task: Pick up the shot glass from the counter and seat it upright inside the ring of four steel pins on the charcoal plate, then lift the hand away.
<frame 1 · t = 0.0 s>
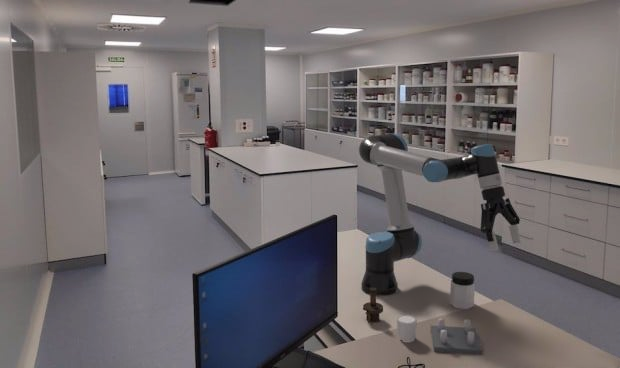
hand: (506, 246, 176), 28 cm above the worktop, tool tilted 20°, fingers open, 13 cm apart
pin plate: (455, 341, 167), on the worktop
shot glass: (406, 338, 170), on the worktop
jar: (461, 305, 195), on the worktop
industrial component: (374, 319, 184), on the worktop
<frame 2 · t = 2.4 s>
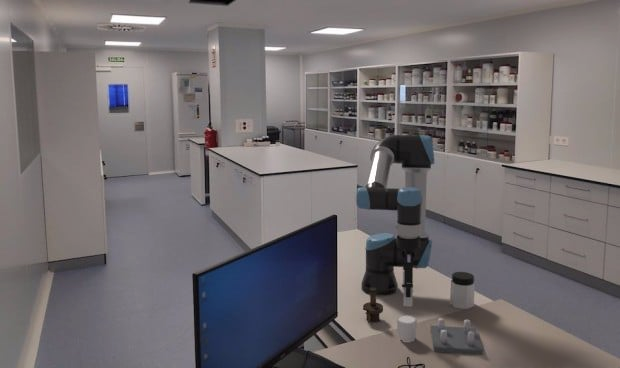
hand: (407, 297, 167), 15 cm above the worktop, tool pointing down, fingers open, 13 cm apart
nothing on the worktop moved.
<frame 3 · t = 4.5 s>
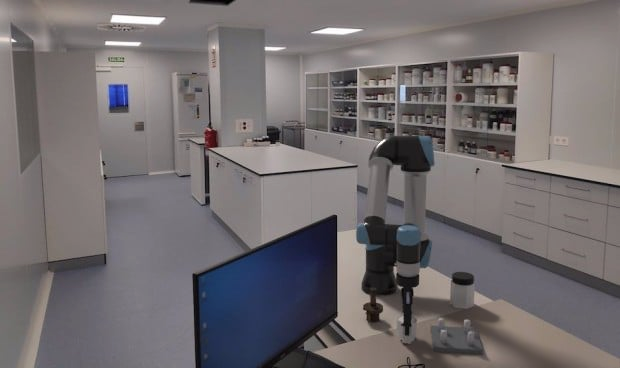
hand: (406, 337, 169), 0 cm above the worktop, tool pointing down, fingers open, 7 cm apart
shot glass: (406, 338, 170), on the worktop, touching gripper
everything else where it was.
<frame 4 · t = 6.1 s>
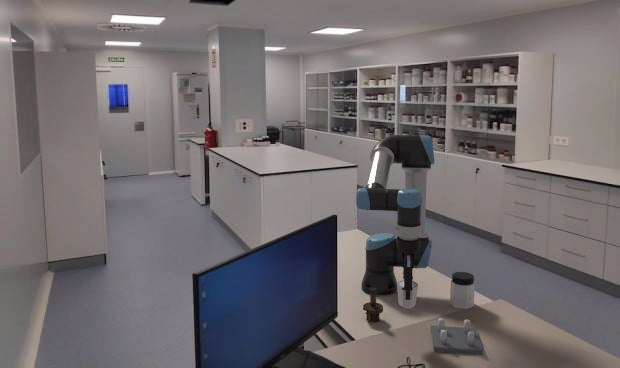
hand: (407, 302, 167), 13 cm above the worktop, tool pointing down, fingers closed on shot glass, 7 cm apart
shot glass: (407, 304, 168), point 12 cm above the worktop, touching gripper
everything else where it was.
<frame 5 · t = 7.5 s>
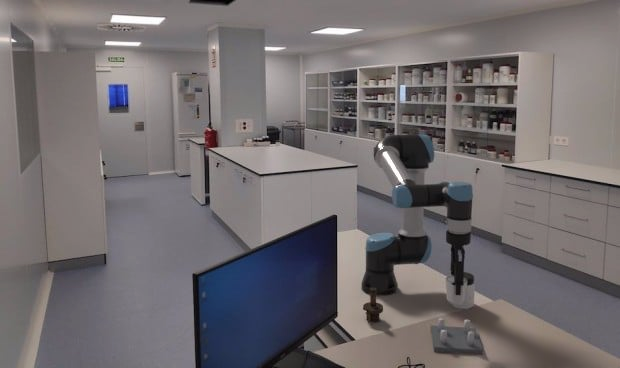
hand: (455, 298, 164), 15 cm above the worktop, tool pointing down, fingers closed on shot glass, 7 cm apart
shot glass: (455, 300, 164), point 15 cm above the worktop, touching gripper
everything else where it was.
when the fingers open (2 cm above the worktop, at t = 10.1 s): shot glass stays where it is, resting on pin plate.
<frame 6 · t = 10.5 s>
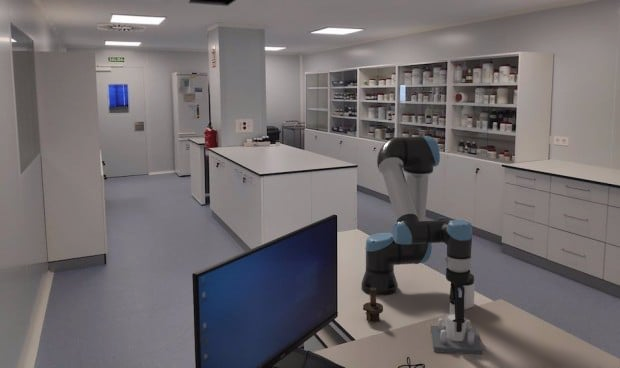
hand: (455, 331, 166), 4 cm above the worktop, tool pointing down, fingers open, 11 cm apart
shot glass: (455, 337, 167), point 1 cm above the worktop, touching pin plate
everything else where it was.
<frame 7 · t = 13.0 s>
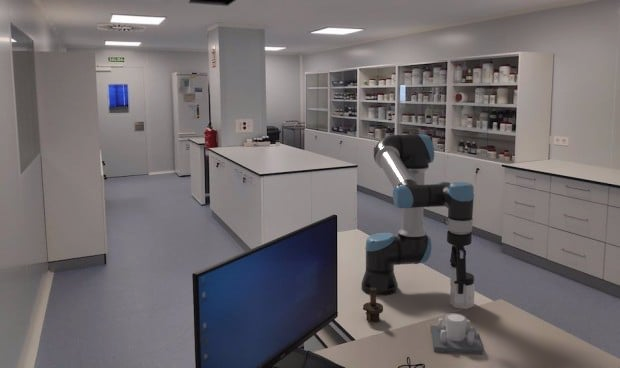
hand: (456, 293, 164), 17 cm above the worktop, tool pointing down, fingers open, 13 cm apart
nothing on the worktop moved.
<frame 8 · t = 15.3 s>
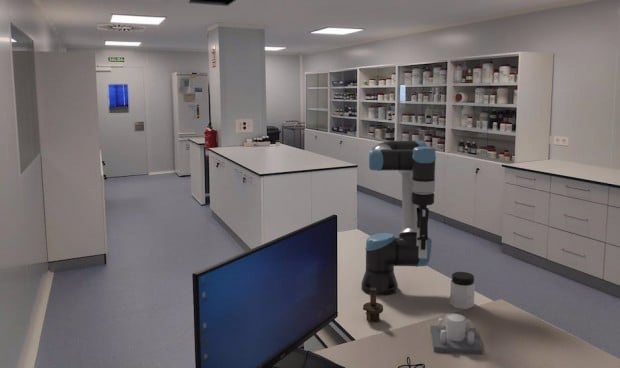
hand: (421, 251, 175), 27 cm above the worktop, tool pointing down, fingers open, 13 cm apart
nothing on the worktop moved.
at the end: shot glass 0.0 cm off-centre on the pin plate, point 1.3 cm above the pin plate's base; shot glass tilted 0°; the gripper is holding nothing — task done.
